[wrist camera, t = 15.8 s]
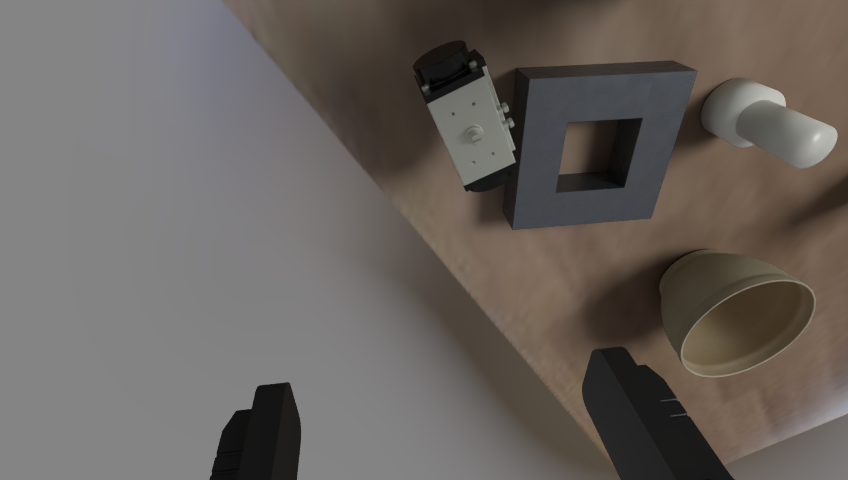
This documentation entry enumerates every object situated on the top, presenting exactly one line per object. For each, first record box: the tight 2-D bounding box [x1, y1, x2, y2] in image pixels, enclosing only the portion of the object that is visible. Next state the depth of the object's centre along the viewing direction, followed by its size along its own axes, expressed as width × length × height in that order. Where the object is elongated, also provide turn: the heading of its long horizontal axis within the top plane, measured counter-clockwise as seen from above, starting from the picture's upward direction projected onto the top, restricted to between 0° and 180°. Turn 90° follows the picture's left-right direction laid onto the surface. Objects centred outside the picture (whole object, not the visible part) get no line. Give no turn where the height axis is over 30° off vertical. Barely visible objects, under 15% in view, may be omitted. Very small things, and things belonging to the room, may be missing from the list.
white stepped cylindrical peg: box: [701, 78, 837, 168], centre depth 44 cm, size 6×6×11 cm
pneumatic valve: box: [413, 40, 518, 192], centre depth 39 cm, size 6×12×12 cm, turn 24°
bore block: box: [503, 61, 698, 230], centre depth 47 cm, size 16×16×4 cm
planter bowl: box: [659, 249, 816, 377], centre depth 58 cm, size 16×16×11 cm
